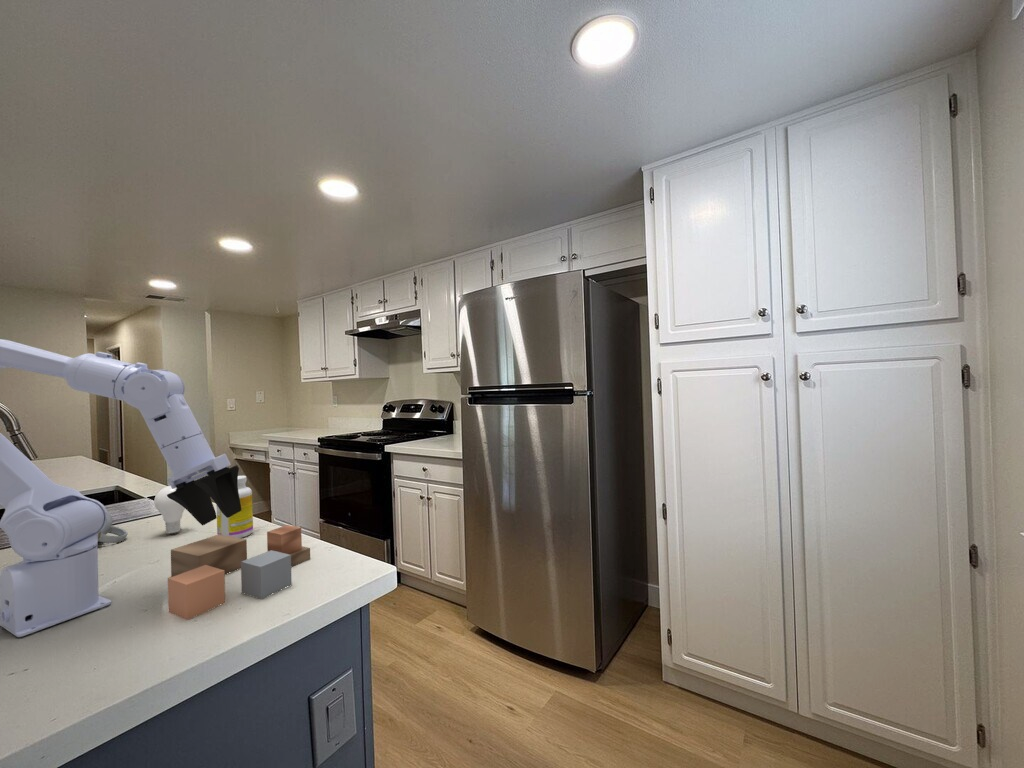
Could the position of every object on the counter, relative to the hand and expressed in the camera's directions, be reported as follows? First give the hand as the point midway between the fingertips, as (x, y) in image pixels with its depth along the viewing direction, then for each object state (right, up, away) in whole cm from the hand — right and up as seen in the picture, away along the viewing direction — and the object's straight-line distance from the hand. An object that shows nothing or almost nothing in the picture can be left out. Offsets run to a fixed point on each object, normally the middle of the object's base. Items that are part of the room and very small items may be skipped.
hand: (221, 518), depth 67 cm
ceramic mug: (-43, -13, +22) cm, 50 cm away
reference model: (+5, -11, +10) cm, 16 cm away
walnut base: (-7, -12, +7) cm, 16 cm away
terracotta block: (0, -12, -5) cm, 13 cm away
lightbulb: (-30, -13, +28) cm, 43 cm away
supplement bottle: (-15, -12, +26) cm, 32 cm away
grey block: (+7, -11, 0) cm, 14 cm away
